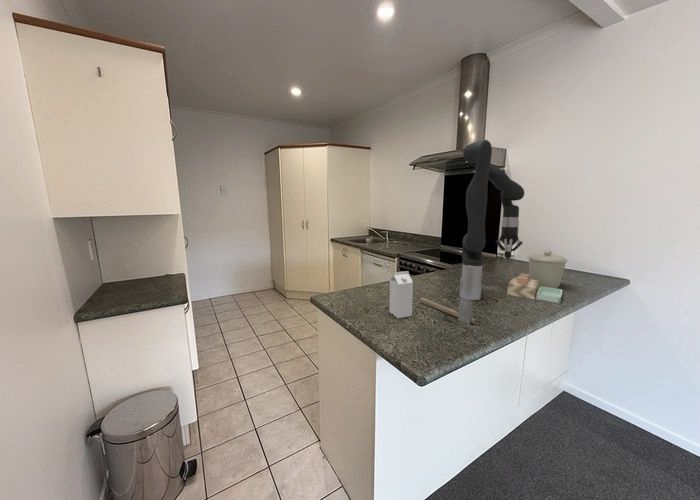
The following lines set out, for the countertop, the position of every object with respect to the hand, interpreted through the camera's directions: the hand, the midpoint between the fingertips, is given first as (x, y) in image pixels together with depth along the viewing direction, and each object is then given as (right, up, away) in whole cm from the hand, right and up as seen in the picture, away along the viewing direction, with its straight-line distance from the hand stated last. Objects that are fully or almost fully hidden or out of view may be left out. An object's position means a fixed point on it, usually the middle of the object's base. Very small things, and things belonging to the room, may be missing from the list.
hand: (507, 258), depth 143 cm
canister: (+27, -17, +10) cm, 33 cm away
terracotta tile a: (+6, -13, -3) cm, 14 cm away
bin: (+17, -19, -7) cm, 27 cm away
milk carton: (-62, -24, -26) cm, 71 cm away
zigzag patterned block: (+8, -18, 0) cm, 20 cm away
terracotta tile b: (+10, -12, +2) cm, 16 cm away
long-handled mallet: (-42, -23, -24) cm, 54 cm away
